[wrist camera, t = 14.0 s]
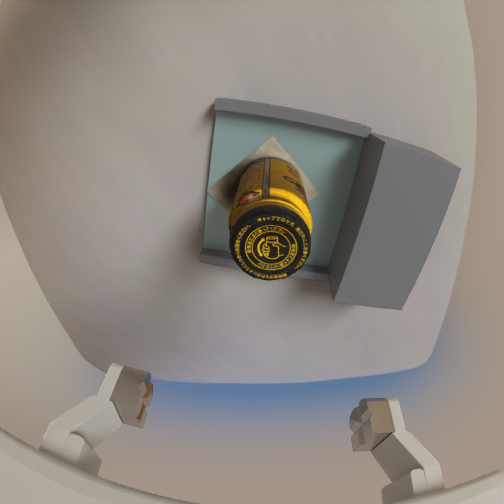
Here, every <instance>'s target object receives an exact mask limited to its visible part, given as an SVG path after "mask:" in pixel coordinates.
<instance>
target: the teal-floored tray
mask: <svg viewBox="0 0 504 504" xmlns="http://www.w3.org/2000/svg"><path fill="white" fill-rule="evenodd" d="M214 109H215V110H217V112H216V119H215V128H214V136H213V144H212V153H211V163H210V172H209V182H208V189H209V188H210V187H212V186H213V185H214V184H215V183H216V182H217V181H218V180H220V179H221V178H222V177H223V176H224V175H226V174H227V173H228V172H229V171H231V170H232V169H233V168H234V167H235V166H236V165H237V164H239V163H240V162H241V161H242V160H244V159H245V158H246V157H247V156H249V155H250V154H251V153H252V152H254V151H255V150H256V149H257V148H259V147H260V146H261V145H262V144H264V143H265V142H266V141H268V140H269V139H270V138H271V137H273V136H274V137H275V139H276V140H277V141H278V142H279V143H280V144H281V146H282V147H283V148H284V149H285V150H286V152H287V153H288V154H289V155H290V156H291V158H292V159H293V160H294V161H295V162H296V164H297V165H298V166H299V167H300V169H301V170H302V171H303V172H304V174H305V175H306V176H307V177H308V179H309V180H310V181H311V182H312V184H313V185H314V186H315V188H316V189H317V190H318V192H319V193H320V194H319V195H318V196H316V197H315V198H313V199H312V200H310V201H309V202H308V205H309V207H310V211H311V216H312V222H313V225H312V232H311V250H310V255H309V257H308V258H307V260H306V261H305V263H304V265H303V267H302V268H301V269H300V270H298V271H297V272H296V273H294V274H292V275H290V276H289V277H296V278H302V279H309V280H316V281H323V282H327V280H328V281H329V285H330V289H331V294H332V298H333V302H336V303H344V304H352V305H360V306H369V307H377V308H386V309H395V310H401V309H402V308H403V306H404V304H405V302H406V300H407V298H408V296H409V294H410V292H411V290H412V288H413V286H414V284H415V282H416V280H417V278H418V276H419V274H420V272H421V270H422V268H423V266H424V263H425V261H426V259H427V257H428V255H429V252H430V250H431V248H432V246H433V243H434V241H435V239H436V236H437V234H438V231H439V229H440V226H441V224H442V221H443V219H444V216H445V214H446V211H447V208H448V206H449V203H450V200H451V197H452V194H453V192H454V189H455V186H456V183H457V180H458V177H459V174H460V170H461V168H459V167H458V166H456V165H454V164H452V163H451V162H449V161H447V160H446V159H444V158H442V157H440V156H438V155H437V154H435V153H433V152H431V151H428V150H425V149H422V148H419V147H417V146H414V145H411V144H408V143H405V142H402V141H399V140H395V139H392V138H389V137H386V136H383V135H379V134H376V133H372V132H371V129H372V128H370V127H368V126H366V125H362V124H358V123H355V122H351V121H347V120H343V119H339V118H335V117H331V116H326V115H322V114H317V113H313V112H308V111H303V110H298V109H293V108H288V107H282V106H276V105H270V104H264V103H257V102H250V101H243V100H235V99H226V98H216V99H215V107H214ZM229 215H230V214H229V213H228V212H227V211H226V210H225V209H224V208H223V207H222V206H221V205H220V204H219V203H218V202H217V201H216V200H215V199H214V198H213V197H212V196H211V195H210V194H209V193H208V192H207V203H206V215H205V227H204V239H203V249H202V251H201V254H200V262H201V263H207V264H213V265H219V266H226V267H232V268H238V269H241V268H240V267H239V266H238V265H237V264H236V262H235V261H234V260H233V257H232V255H231V251H230V248H229V238H230V236H229V235H230V232H229V223H228V220H229Z"/></svg>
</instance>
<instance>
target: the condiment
mask: <svg viewBox="0 0 504 504" xmlns="http://www.w3.org/2000/svg"><path fill="white" fill-rule="evenodd" d="M207 192H208V193H209V194H210V195H211V196H212V197H213V198H214V199H215V200H216V201H217V202H218V203H219V204H220V205H221V206H222V207H223V208H224V209H225V210H226V211H227V212H228V213H229V214H230V215H229V220H228V223H229V232H230V235H229V236H230V238H229V248H230V251H231V255H232V257H233V260H234V261H235V262H236V264H237V265H238V266H239V267H240V268H241V269H242V270H243V271H244V272H245V273H247V274H249V275H250V276H252V277H254V278H258V279H262V280H277V279H284V278H286V277H289V276H290V275H292V274H294V273H296V272H297V271H298V270H300V269H301V268H302V267H303V265H304V263H305V261H306V260H307V258H308V257H309V255H310V250H311V232H312V225H313V222H312V216H311V211H310V207H309V205H308V202H309V201H310V200H312V199H313V198H315V197H316V196H318V195H319V194H320V193H319V192H318V190H317V189H316V188H315V186H314V185H313V184H312V182H311V181H310V180H309V179H308V177H307V176H306V175H305V174H304V172H303V171H302V170H301V169H300V167H299V166H298V165H297V164H296V162H295V161H294V160H293V159H292V158H291V156H290V155H289V154H288V153H287V152H286V150H285V149H284V148H283V147H282V146H281V144H280V143H279V142H278V141H277V140H276V139H275V137H274V136H273V137H271V138H270V139H269V140H268V141H266V142H265V143H264V144H262V145H261V146H260V147H259V148H257V149H256V150H255V151H254V152H252V153H251V154H250V155H249V156H247V157H246V158H245V159H244V160H242V161H241V162H240V163H239V164H237V165H236V166H235V167H234V168H233V169H232V170H231V171H229V172H228V173H227V174H226V175H224V176H223V177H222V178H221V179H220V180H218V181H217V182H216V183H215V184H214V185H213V186H212V187H210V188H209V189H208V190H207Z"/></svg>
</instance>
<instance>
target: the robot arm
mask: <svg viewBox="0 0 504 504" xmlns="http://www.w3.org/2000/svg"><path fill="white" fill-rule="evenodd" d="M150 380H151V374H150V372H146V371H142V370H138V369H134V368H130V367H127V366H124V365H120V364H116V363H112V364H111V365H110V366H109V368H108V371H107V373H106V375H105V377H104V379H103V382H102V384H101V386H100V388H99V391H98V393H97V395H96V396H94V395H92V396H91V397H89V398H87V399H86V400H85V401H83V402H81V403H80V404H78V405H77V406H75V407H74V408H72V409H70V410H69V411H67V412H66V413H64V414H63V415H61V416H59V417H58V418H56V419H55V420H53V421H51V422H50V424H49V426H48V429H47V431H46V433H45V435H44V437H43V440H42V442H41V445H40V447H39V449H37V448H35V447H33V446H31V445H29V444H27V443H26V442H24V441H22V440H20V439H19V438H17V437H15V436H14V435H12V434H10V433H9V432H7V431H6V430H4V429H2V428H1V427H0V504H199V503H193V502H188V501H183V500H177V499H173V498H168V497H164V496H160V495H156V494H152V493H148V492H145V491H141V490H138V489H134V488H131V487H128V486H125V485H122V484H119V483H116V482H113V481H109V480H107V479H104V478H101V477H99V476H98V472H99V469H100V465H101V459H100V458H99V457H98V456H97V454H96V453H95V452H94V451H93V449H94V448H95V447H96V446H97V445H98V444H100V443H101V442H102V441H103V440H104V439H106V438H107V437H108V436H109V435H111V434H112V433H113V432H114V431H115V430H117V429H118V428H119V427H120V426H121V425H122V423H124V424H128V425H132V426H136V427H139V428H143V426H144V423H145V420H146V416H147V413H146V408H147V407H148V406H149V405H150V404H151V400H152V396H153V384H152V383H151V382H150ZM350 429H351V430H352V431H353V432H354V434H353V436H352V437H351V440H352V448H353V451H371V453H372V454H373V456H374V457H375V459H376V460H377V461H378V463H379V464H380V466H381V467H382V468H383V470H384V471H385V473H386V474H387V476H388V477H389V478H390V480H391V481H392V483H391V484H389V485H387V486H385V487H384V488H383V489H382V500H383V504H504V472H503V471H502V470H496V471H493V472H491V473H488V474H486V475H483V476H481V477H478V478H476V479H473V480H470V481H467V482H465V483H462V484H459V485H456V486H453V487H450V488H447V489H445V487H444V482H443V477H442V472H441V468H440V464H439V463H438V461H437V460H435V458H434V457H433V456H432V455H431V454H430V453H429V452H428V451H427V450H426V449H425V448H424V447H423V446H422V445H421V444H420V442H419V441H417V439H416V438H415V437H414V436H413V435H412V434H411V433H410V432H409V431H406V429H405V425H404V421H403V417H402V413H401V409H400V405H399V401H398V399H397V398H368V399H367V398H366V399H362V400H361V401H360V402H359V406H358V407H356V408H354V410H353V411H352V413H351V416H350Z"/></svg>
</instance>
